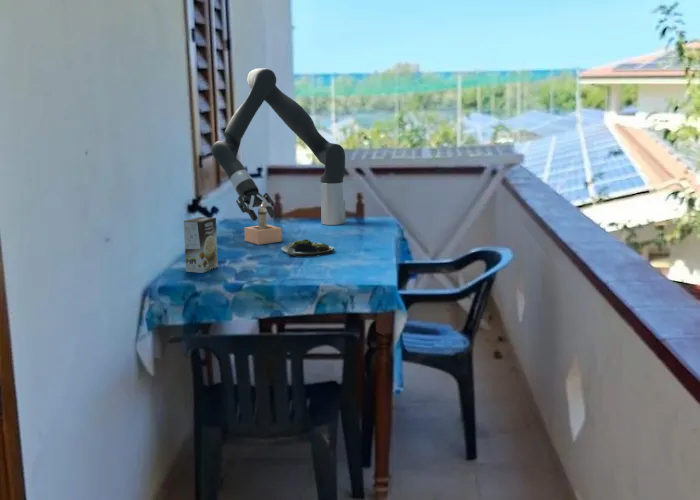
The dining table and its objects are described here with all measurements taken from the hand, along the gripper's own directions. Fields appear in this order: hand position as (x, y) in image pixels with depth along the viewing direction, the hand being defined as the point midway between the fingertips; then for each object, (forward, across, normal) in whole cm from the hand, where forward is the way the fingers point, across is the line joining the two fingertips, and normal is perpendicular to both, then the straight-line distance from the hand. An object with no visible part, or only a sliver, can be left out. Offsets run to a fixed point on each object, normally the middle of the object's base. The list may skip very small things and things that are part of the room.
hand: (264, 218), depth 291 cm
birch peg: (+5, 0, +7) cm, 9 cm away
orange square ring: (+5, 0, +7) cm, 9 cm away
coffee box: (+21, -43, -8) cm, 49 cm away
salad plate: (+25, -3, -12) cm, 28 cm away
